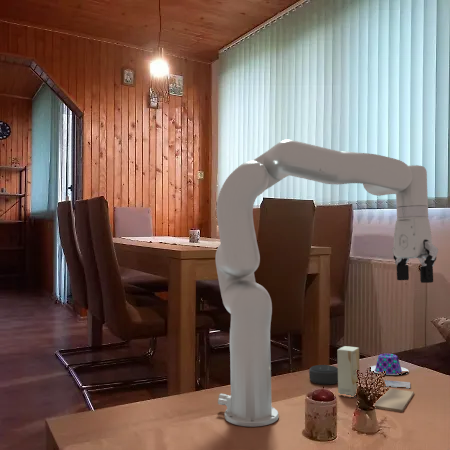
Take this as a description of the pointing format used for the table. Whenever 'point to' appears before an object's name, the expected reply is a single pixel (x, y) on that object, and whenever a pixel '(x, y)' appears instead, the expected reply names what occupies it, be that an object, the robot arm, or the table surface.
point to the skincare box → (348, 369)
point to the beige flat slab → (394, 400)
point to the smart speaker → (324, 374)
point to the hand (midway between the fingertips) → (414, 281)
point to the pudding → (388, 364)
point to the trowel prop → (396, 384)
